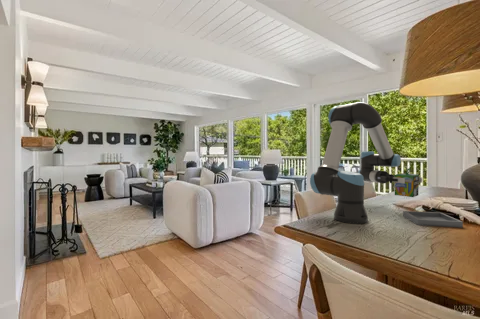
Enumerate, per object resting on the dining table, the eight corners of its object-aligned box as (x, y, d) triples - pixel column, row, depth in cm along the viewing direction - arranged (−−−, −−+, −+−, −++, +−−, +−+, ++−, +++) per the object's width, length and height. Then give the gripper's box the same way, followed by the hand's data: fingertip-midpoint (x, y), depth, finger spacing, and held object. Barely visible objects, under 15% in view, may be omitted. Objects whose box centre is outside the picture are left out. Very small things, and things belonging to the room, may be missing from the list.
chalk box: (399, 193, 141) (400, 167, 141) (419, 195, 134) (419, 168, 134) (393, 195, 135) (394, 168, 135) (413, 197, 128) (413, 169, 128)
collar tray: (417, 225, 111) (417, 219, 111) (402, 215, 128) (402, 210, 128) (462, 227, 107) (462, 221, 107) (441, 217, 124) (441, 212, 124)
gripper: (394, 182, 155) (429, 186, 134) (363, 183, 149) (395, 188, 128) (394, 170, 155) (430, 172, 134) (363, 171, 149) (395, 174, 128)
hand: (413, 180), depth 131 cm, fingers closed on chalk box, 11 cm apart
